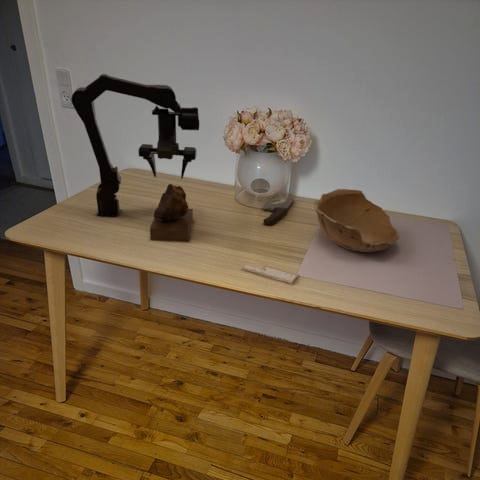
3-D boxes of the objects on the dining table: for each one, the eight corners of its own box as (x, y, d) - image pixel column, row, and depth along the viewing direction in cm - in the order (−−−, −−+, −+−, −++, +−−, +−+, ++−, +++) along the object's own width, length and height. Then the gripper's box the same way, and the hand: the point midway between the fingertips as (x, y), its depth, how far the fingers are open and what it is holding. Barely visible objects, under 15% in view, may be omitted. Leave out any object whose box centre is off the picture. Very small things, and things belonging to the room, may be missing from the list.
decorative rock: (181, 211, 149) (180, 179, 143) (192, 216, 145) (191, 184, 139) (151, 219, 142) (149, 186, 136) (162, 225, 138) (160, 192, 132)
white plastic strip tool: (251, 262, 130) (251, 259, 129) (297, 276, 124) (298, 273, 124) (243, 269, 126) (243, 265, 125) (291, 284, 121) (291, 280, 120)
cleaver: (277, 227, 152) (278, 221, 151) (250, 222, 154) (251, 216, 153) (294, 201, 175) (295, 195, 174) (271, 197, 177) (272, 191, 176)
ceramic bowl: (412, 257, 134) (417, 211, 126) (325, 270, 135) (324, 224, 126) (380, 221, 159) (382, 180, 151) (306, 232, 160) (304, 192, 151)
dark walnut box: (150, 240, 138) (149, 228, 136) (158, 217, 153) (158, 207, 151) (188, 241, 139) (188, 230, 137) (192, 219, 154) (192, 208, 151)
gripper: (133, 133, 135) (137, 183, 144) (193, 137, 135) (193, 187, 144) (140, 125, 144) (143, 173, 153) (196, 129, 144) (196, 176, 154)
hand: (168, 177), depth 151 cm, fingers open, 9 cm apart
